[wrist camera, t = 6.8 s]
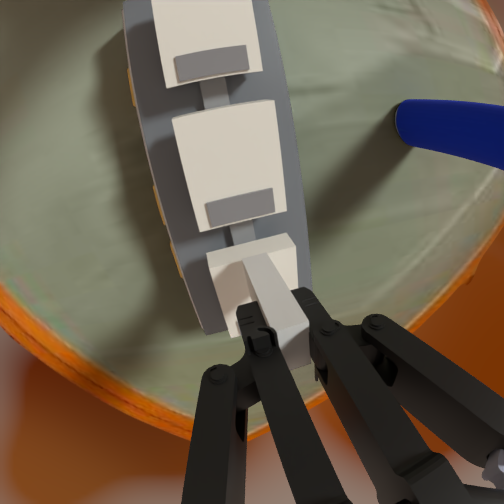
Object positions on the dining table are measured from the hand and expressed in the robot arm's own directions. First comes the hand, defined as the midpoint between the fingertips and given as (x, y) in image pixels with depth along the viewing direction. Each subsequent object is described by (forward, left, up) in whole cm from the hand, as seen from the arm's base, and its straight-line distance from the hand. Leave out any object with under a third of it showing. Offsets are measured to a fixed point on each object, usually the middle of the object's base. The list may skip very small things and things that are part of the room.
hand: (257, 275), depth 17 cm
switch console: (-7, 0, -8) cm, 11 cm away
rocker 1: (-16, 0, -3) cm, 16 cm away
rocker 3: (+2, 0, -3) cm, 4 cm away
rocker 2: (-7, 0, -3) cm, 7 cm away
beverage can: (-8, +20, -9) cm, 23 cm away
